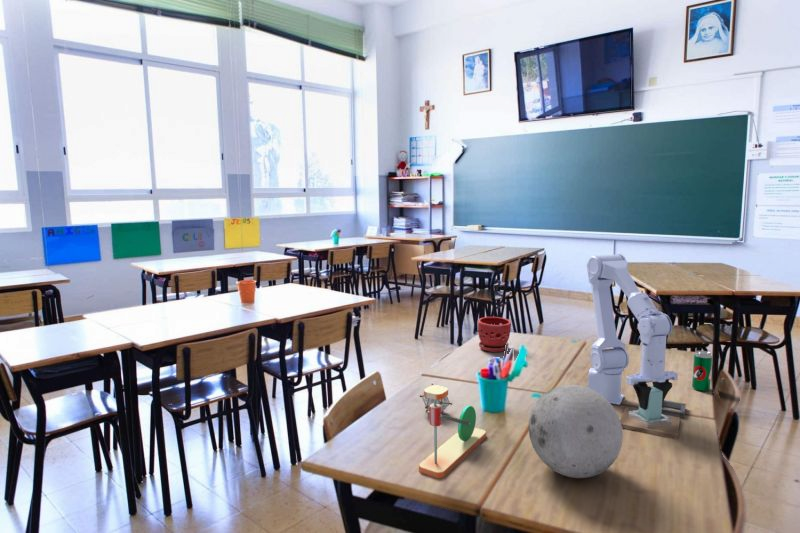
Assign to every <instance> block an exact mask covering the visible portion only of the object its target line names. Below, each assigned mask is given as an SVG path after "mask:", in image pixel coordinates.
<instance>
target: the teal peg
mask: <svg viewBox="0 0 800 533" xmlns="http://www.w3.org/2000/svg"><path fill="white" fill-rule="evenodd" d="M648 386H649V387H651V388H652V389H651V391H650V394H649V398H648V407H647V410H644V409H642V408H640V406H639V405H638V410H639V411H638V415H640V416H641V417H643V418H645V419H646V420H648V421H650V420H657V419H661V414H662V408H663V406H662V396H663V391H661V390H659V389H657V388H655V387H653V385H651V386H650V385H648Z"/></svg>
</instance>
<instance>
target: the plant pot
mask: <svg viewBox="0 0 800 533" xmlns="http://www.w3.org/2000/svg"><path fill="white" fill-rule="evenodd" d="M511 329H512V322H511V320H509V319H507V318H505V317H499V316H485V317H484V316H483V317H480V318H479V319H478V321H477V333H478V338H479V340H480V342H478V346H479V348H480V349H481V350H483V351H486V352H491V353H499V352H503V351H505V350H504V349H505V345H506V343H507V344H508V341H509V338H510V334H511Z"/></svg>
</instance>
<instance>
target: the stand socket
mask: <svg viewBox="0 0 800 533" xmlns="http://www.w3.org/2000/svg"><path fill="white" fill-rule="evenodd" d="M663 407H664V408H663ZM665 407H667V408H665ZM668 408H671V409H668ZM672 408H673V409H672ZM674 409H676V410H674ZM679 410H680V411H679ZM685 413H686V403H683V402H676V401H672V400H671V401H670V400H665V399H664V402H663V404H662V414H663V415H669V416H674V417H680V419H685Z"/></svg>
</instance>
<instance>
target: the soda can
mask: <svg viewBox="0 0 800 533" xmlns="http://www.w3.org/2000/svg"><path fill="white" fill-rule="evenodd" d="M692 364H693V365H692V366H693V367H692V380H691V387H692V389H693V390H695V391H697V392H698V391H699V392H708V391H710V390H711V383H712V382H711V381H712V370H713V369H712V368H713V367H712V366H713V355H712V352H709V351H707V350H696V351H695V353H694V354H693V363H692Z"/></svg>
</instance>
